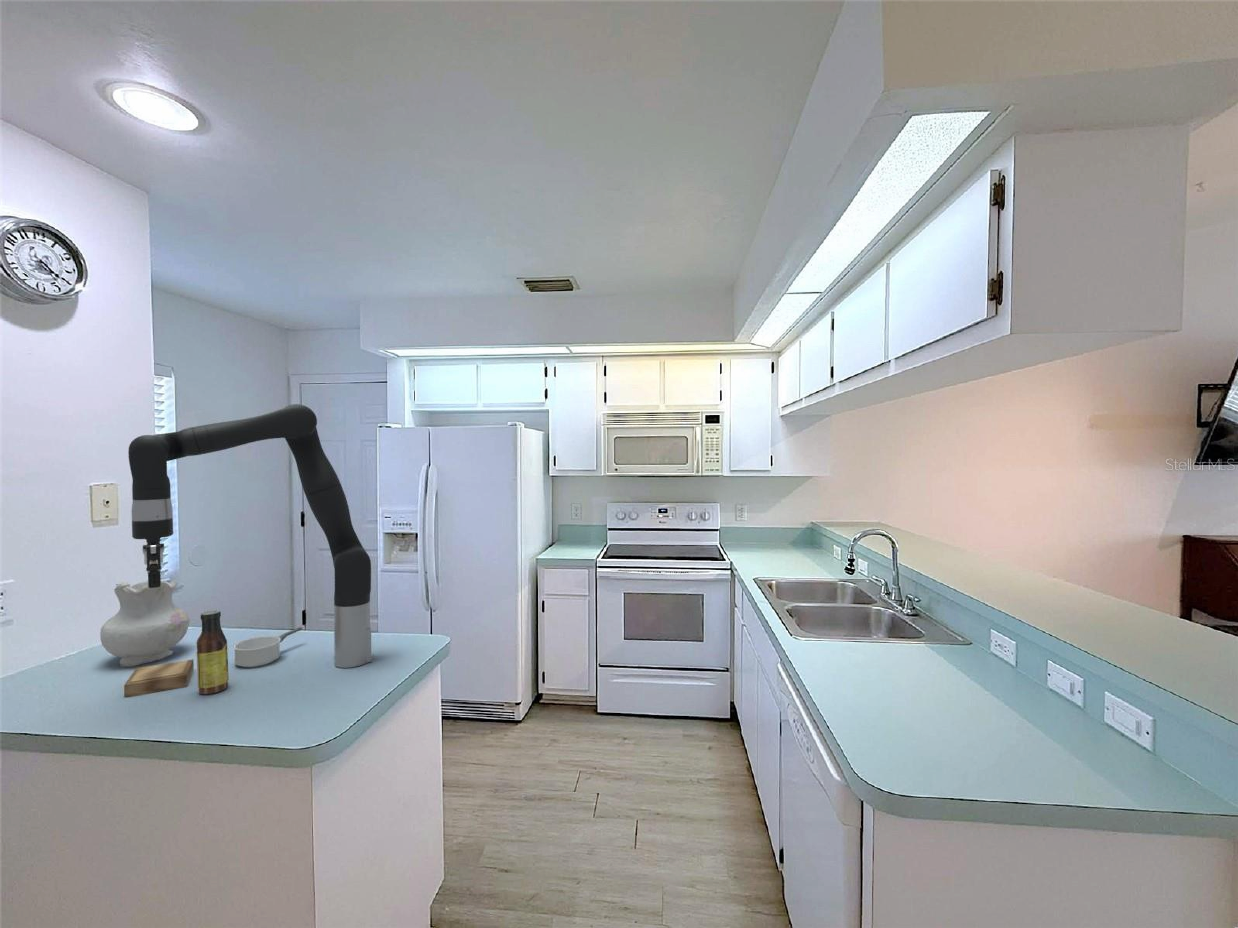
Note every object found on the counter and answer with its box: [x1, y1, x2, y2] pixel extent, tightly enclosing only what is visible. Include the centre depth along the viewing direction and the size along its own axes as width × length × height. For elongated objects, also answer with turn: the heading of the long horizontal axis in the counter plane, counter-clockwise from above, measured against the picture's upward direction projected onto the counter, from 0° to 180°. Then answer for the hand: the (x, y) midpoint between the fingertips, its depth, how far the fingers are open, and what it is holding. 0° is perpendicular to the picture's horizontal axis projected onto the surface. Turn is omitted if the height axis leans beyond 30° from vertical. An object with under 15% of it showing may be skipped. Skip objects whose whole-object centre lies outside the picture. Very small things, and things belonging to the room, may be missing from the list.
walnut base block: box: [123, 658, 194, 698], centre depth 140 cm, size 12×12×3 cm
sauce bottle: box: [196, 609, 229, 695], centre depth 136 cm, size 6×6×20 cm
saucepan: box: [232, 626, 303, 668], centre depth 158 cm, size 12×20×6 cm, turn 162°
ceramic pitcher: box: [99, 574, 190, 668], centre depth 157 cm, size 22×20×25 cm
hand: (154, 584), depth 131 cm, fingers open, 8 cm apart
